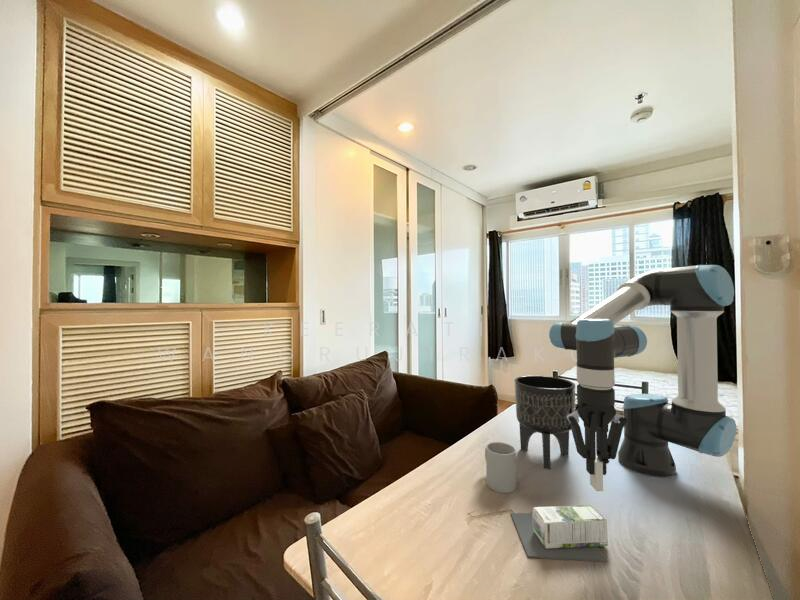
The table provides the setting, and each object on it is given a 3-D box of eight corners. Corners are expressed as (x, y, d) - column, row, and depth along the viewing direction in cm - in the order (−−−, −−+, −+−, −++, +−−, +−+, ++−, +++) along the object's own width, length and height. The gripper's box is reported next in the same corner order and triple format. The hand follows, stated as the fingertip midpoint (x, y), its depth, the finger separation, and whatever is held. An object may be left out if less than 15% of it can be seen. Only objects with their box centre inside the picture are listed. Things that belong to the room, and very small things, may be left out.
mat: (575, 517, 81) (575, 515, 81) (606, 561, 67) (606, 559, 67) (510, 514, 82) (510, 512, 82) (527, 557, 68) (527, 555, 68)
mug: (522, 490, 93) (522, 452, 93) (497, 495, 90) (496, 456, 90) (497, 469, 104) (497, 435, 104) (474, 474, 102) (474, 439, 102)
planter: (581, 475, 100) (580, 391, 100) (515, 465, 107) (514, 386, 107) (571, 448, 119) (570, 377, 119) (515, 441, 125) (514, 373, 125)
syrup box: (591, 528, 76) (532, 532, 76) (590, 503, 77) (531, 506, 76) (608, 546, 71) (544, 550, 70) (607, 519, 71) (543, 522, 70)
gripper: (615, 381, 77) (616, 479, 77) (559, 381, 79) (560, 477, 78) (635, 390, 70) (636, 498, 70) (573, 389, 71) (574, 496, 71)
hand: (596, 487), depth 74 cm, fingers closed
